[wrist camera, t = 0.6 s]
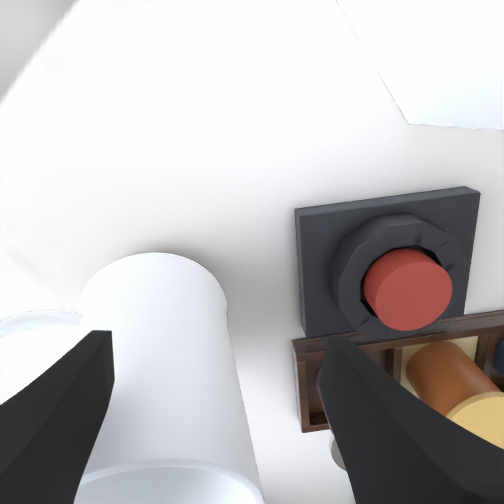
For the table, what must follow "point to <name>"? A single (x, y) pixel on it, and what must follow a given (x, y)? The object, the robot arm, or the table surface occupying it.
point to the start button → (407, 289)
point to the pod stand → (396, 357)
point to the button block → (379, 254)
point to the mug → (162, 386)
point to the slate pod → (499, 358)
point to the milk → (437, 57)
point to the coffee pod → (458, 390)
